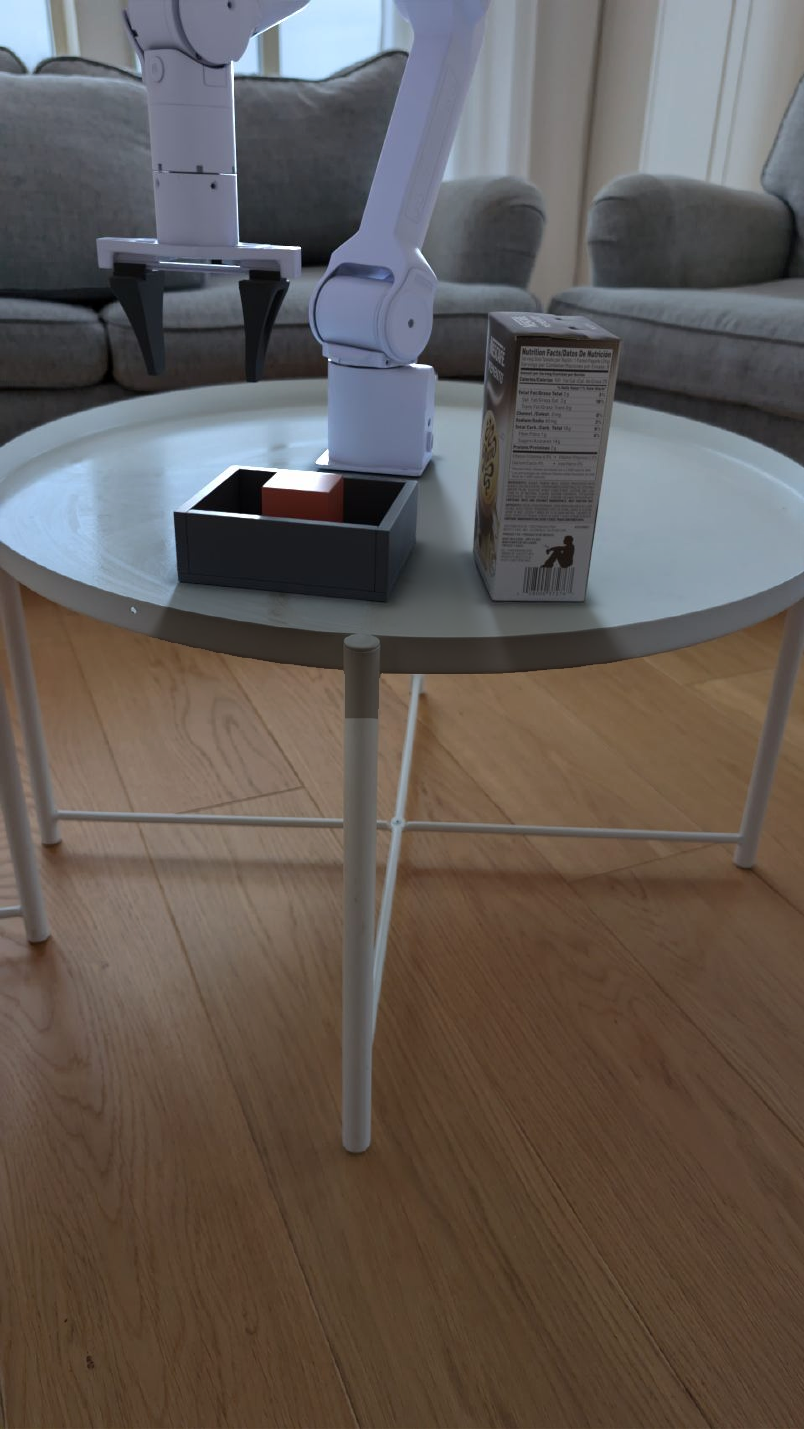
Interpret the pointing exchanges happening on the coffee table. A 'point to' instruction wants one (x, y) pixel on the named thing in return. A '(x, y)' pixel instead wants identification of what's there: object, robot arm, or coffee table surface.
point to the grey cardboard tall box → (542, 453)
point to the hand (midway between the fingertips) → (205, 377)
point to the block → (304, 496)
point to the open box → (297, 538)
